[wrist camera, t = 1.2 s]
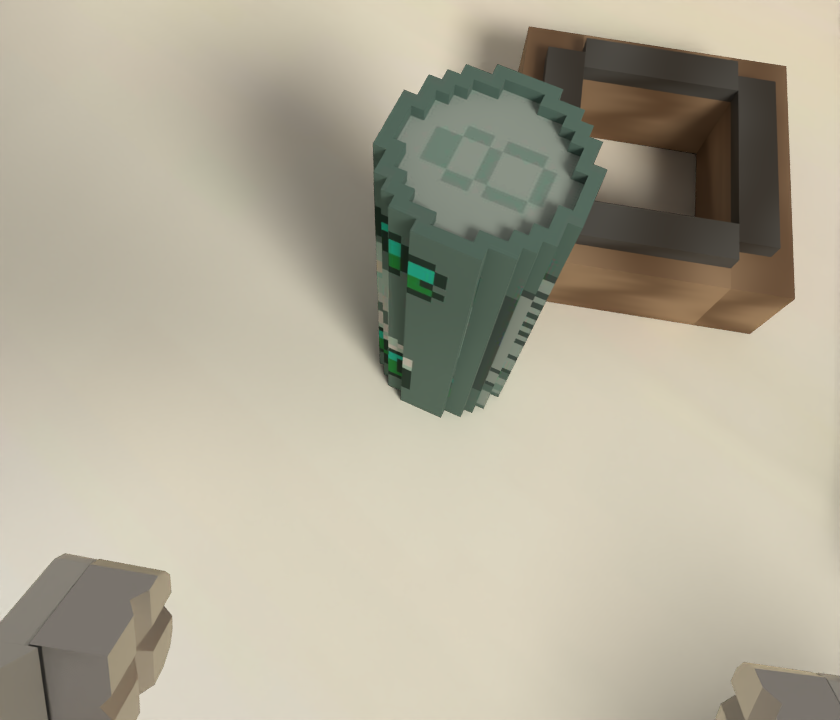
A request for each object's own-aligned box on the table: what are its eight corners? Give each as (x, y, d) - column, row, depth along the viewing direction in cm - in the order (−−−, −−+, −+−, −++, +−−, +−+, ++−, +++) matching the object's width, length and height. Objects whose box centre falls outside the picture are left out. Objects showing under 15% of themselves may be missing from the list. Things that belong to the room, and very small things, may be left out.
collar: (486, 291, 34) (502, 242, 30) (515, 83, 39) (532, 13, 34) (749, 334, 34) (805, 290, 29) (747, 120, 38) (795, 54, 34)
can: (414, 275, 34) (433, 39, 20) (529, 324, 34) (630, 115, 20) (361, 382, 32) (339, 201, 18) (481, 435, 32) (555, 291, 18)
